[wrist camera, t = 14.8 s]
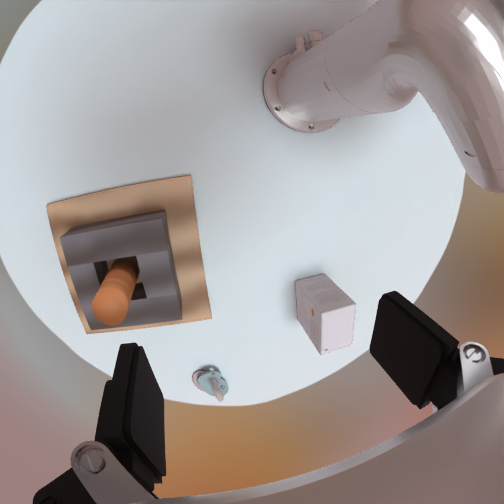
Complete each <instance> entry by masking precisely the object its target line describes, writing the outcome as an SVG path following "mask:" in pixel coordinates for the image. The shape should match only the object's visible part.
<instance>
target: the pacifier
mask: <svg viewBox="0 0 504 504" xmlns="http://www.w3.org/2000/svg"><path fill="white" fill-rule="evenodd" d="M200 375H201V376H200ZM198 376H199V378H198ZM197 378H198V381H197ZM193 383H194V384H195V386H196V387H197V388H199V389H200V390H202V391H205V392H207V393H208V394H210V395H212V396H216V398H217V399H218V401H219V402H221V401H222V400H223V398H224V395H225V394H226V393H227V392H228V384H227V383H226V381H225V380H223V379H222V378H221V373H220V372H219V371H211V372H206V371H197V372H195V373H194V375H193ZM221 385H223V386H224V388H221V387H220V386H221Z"/></svg>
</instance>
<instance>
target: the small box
mask: <svg viewBox="0 0 504 504" xmlns="http://www.w3.org/2000/svg"><path fill="white" fill-rule="evenodd" d="M295 286H296V301H297V319H298V321H299V322H300V324H301V325H302V327H303V329H304V330H305V332H306V333H307V335H308V336H309V338H310V339H311V341H312V343H313V344H314V346H315V347H316V349H317V350H318V352H319V353H320V355H322V354H325V353H329V352H332V351H335V350H337V349H340V348H343V347H346V346H349V345H351V344H352V341H353V331H354V319H355V306H356V303H355V302H354V301H353V300H352V299H351V298H350V297H349V296H348V295H347V294H346V293H345V292H343V291H342V290H341V289H340V288H339V287H338V286H337V285H336V284H335V283H334V282H333V281H332V280H331V279H330V278H329V277H328V276H327V275H325V274H321V275H317V276H313V277H309V278H305V279H301V280H296V281H295Z"/></svg>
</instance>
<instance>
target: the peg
mask: <svg viewBox="0 0 504 504" xmlns="http://www.w3.org/2000/svg"><path fill="white" fill-rule="evenodd" d="M139 273H140V270H139V266H138V261H137V257H136V256H130V257H124V258H118V259H115V261H114V263H113V264H112V266H111V268H110V270H109V271H108V273H107V275H106V277H105V279H104V280H103V282H102V284H101V286H100V288H99V290H98V292H97V293H96V295H95V297H94V299H93V301H92V312H93V314H94V316H95V317H96V318H97V319H98V320H99V321H100V322H102V323H104V324H106V325H118V324H120V323H122V322H123V321H124V319H125V317H126V314H127V311H128V307H129V304H130V301H131V297H132V294H133V291H134V288H135V285H136V282H137V279H138V276H139Z"/></svg>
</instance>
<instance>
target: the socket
mask: <svg viewBox="0 0 504 504" xmlns="http://www.w3.org/2000/svg"><path fill="white" fill-rule="evenodd" d="M46 208H47V213H48V218H49V222H50V227H51V231H52V235H53V239H54V243H55V246H56V250H57V254H58V257H59V261H60V264H61V267H62V270H63V273H64V277H65V280H66V282H67V285H68V288H69V291H70V294H71V297H72V299H73V302H74V305H75V307H76V310H77V312H78V315H79V317H80V320H81V322H82V324H83V327H84V329H85V331H86V334H93V333H104V332H114V331H124V330H133V329H142V328H150V327H158V326H166V325H173V324H180V323H187V322H194V321H200V320H207V319H212V315H211V310H210V304H209V298H208V292H207V286H206V280H205V274H204V268H203V261H202V255H201V248H200V241H199V234H198V227H197V219H196V212H195V204H194V196H193V187H192V179H191V175H188V176H181V177H175V178H168V179H162V180H156V181H150V182H144V183H139V184H133V185H128V186H123V187H118V188H113V189H108V190H104V191H99V192H95V193H90V194H86V195H82V196H77V197H73V198H69V199H65V200H61V201H58V202H54V203H50V204H47V205H46ZM130 256H136V257H137V261H138V266H139V270H140V273H139V276H138V279H137V282H136V285H135V288H134V291H133V294H132V297H131V301H130V304H129V307H128V311H127V314H126V317H125V319H124V321H123V322H122V323H120V324H118V325H106V324H104V323H102V322H100V321H99V320H98V319H97V318H96V317H95V316H94V314H93V312H92V301H93V299H94V297H95V295H96V293H97V292H98V290H99V288H100V286H101V284H102V282H103V280H104V279H105V277H106V275H107V273H108V271H109V270H110V268H111V266H112V264H113V263H114V261H115V259H118V258H124V257H130Z"/></svg>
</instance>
